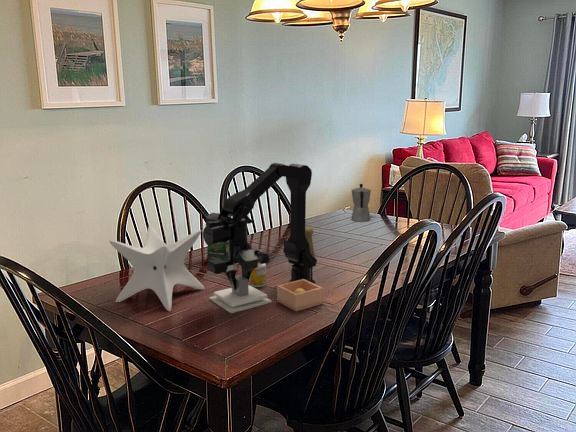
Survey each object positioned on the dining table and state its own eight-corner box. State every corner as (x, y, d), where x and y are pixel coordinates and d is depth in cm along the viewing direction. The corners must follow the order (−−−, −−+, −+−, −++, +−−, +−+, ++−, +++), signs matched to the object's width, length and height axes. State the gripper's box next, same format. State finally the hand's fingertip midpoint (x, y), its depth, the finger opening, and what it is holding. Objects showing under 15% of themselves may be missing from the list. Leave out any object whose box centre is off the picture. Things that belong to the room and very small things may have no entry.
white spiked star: (154, 282, 186) (149, 225, 182) (204, 289, 179) (201, 230, 174) (114, 303, 168) (108, 240, 164) (169, 311, 161) (164, 246, 156)
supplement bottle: (248, 283, 183) (247, 255, 181) (263, 281, 185) (262, 253, 183) (253, 288, 178) (252, 260, 176) (268, 286, 180) (267, 257, 178)
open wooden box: (303, 293, 173) (303, 278, 172) (323, 303, 165) (323, 287, 164) (277, 301, 167) (276, 285, 166) (296, 311, 159) (295, 295, 158)
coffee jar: (204, 262, 207) (201, 214, 202) (215, 256, 214) (213, 210, 209) (225, 265, 202) (223, 216, 198) (236, 259, 209) (235, 212, 205)
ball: (301, 296, 168) (301, 285, 167) (308, 300, 165) (308, 288, 164) (291, 299, 166) (291, 288, 165) (298, 302, 163) (298, 291, 163)
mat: (248, 289, 177) (248, 287, 177) (271, 302, 166) (271, 300, 166) (209, 299, 170) (209, 297, 170) (231, 313, 159) (230, 311, 158)
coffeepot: (350, 216, 277) (351, 181, 273) (369, 216, 276) (370, 181, 272) (351, 224, 262) (352, 187, 258) (371, 224, 261) (372, 187, 257)
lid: (247, 286, 176) (246, 269, 174) (267, 298, 166) (266, 279, 165) (213, 295, 169) (213, 276, 168) (232, 307, 160) (231, 287, 158)
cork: (305, 251, 219) (304, 224, 216) (317, 254, 215) (317, 226, 212) (295, 255, 214) (295, 227, 212) (308, 257, 210) (307, 229, 208)
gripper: (222, 250, 152) (225, 303, 156) (278, 239, 162) (279, 289, 166) (204, 242, 161) (207, 292, 165) (259, 232, 171) (260, 279, 175)
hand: (239, 288), depth 167 cm, fingers open, 3 cm apart
